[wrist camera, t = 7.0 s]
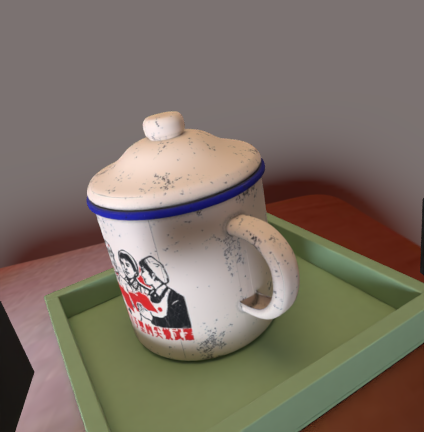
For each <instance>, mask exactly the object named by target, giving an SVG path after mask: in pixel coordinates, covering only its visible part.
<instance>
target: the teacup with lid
mask: <svg viewBox="0 0 424 432" xmlns="http://www.w3.org/2000/svg"><path fill="white" fill-rule="evenodd" d="M184 128H185V124H184V119H183V116H182V115H181V114H180V113H178V112H175V111H172V112H164V113H159V114H155V115H152V116H149V117H147V118H146V119H145V120H144V122H143V130H144V133H145V135H146V138H144V139H141V140H140V141H138V142H136V143H134V144H133V145H132V146H130V147H129V148H128V149H127V150H126V151H125V153H124V154H123V155H122V156H121V157H120V158H119V159H118V161H116V162H114V163H112V164H110V165H108V166H107V167H105V168H104V169H102V170H101V171H99V172H98V173H97V174H96V175H95V176H94V177H93V178H92V180H91V181H90V183H89V186H88V189H87V204H88V207H89V209H90V210H91V211H92V212H94V213H95V214H96V216H97V219H98V222H99V225H100V228H101V231H102V234H103V237H104V240H105V243H106V246H107V249H108V252H109V255H110V259H111V262H112V265H113V268H114V271H115V274H116V277H117V280H118V283H119V286H120V289H121V292H122V295H123V298H124V301H125V304H126V307H127V310H128V314H129V317H130V320H131V323H132V326H133V329H134V332H135V334H136V336H137V338H138V339H139V341H140V342H141V343H142V344H143V345H144V346H145V347H146V348H147V349H149V350H150V351H152V352H153V353H155V354H158V355H160V356H163V357H166V358H170V359H174V360H183V361H197V360H206V359H212V358H216V357H220V356H223V355H226V354H229V353H232V352H234V351H236V350H238V349H241V348H242V347H244V346H246V345H248V344H249V343H251V342H252V341H254V340H255V339H256V338H257V337H259V336H260V335H261V334H262V333H263V332H264V331H265V330H266V328H267V327H268V326H269V325H270V323H271V322H272V320H273V319H274V318H276V317H279V316H280V315H282V314H283V313H284V312H286V311H287V310H288V309H289V308H290V307H291V306H292V305H293V303H294V302H295V300H296V298H297V295H298V291H299V284H300V276H299V268H298V263H297V260H296V257H295V254H294V252H293V250H292V248H291V247H290V245H289V244H288V242H287V241H286V240H285V238H284V237H283V236H282V235H281V234H280V233H279V232H278V231H277V230H276V229H275V228H274V227H273V226H271V225H270V224H268V221H267V214H266V207H265V200H264V192H263V185H262V178H261V177H262V175H263V173H264V171H265V165H264V161H263V159H262V158H261V156H260V153H259V152H258V151H257V149H256V148H255V147H253V146H252V145H251V144H249V143H246V142H243V141H239V140H234V139H221V138H218V137H216V136H214V135H211V134H209V133H207V132H204V131H201V130H194V129H184Z"/></svg>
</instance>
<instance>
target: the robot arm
mask: <svg viewBox="0 0 424 432" xmlns="http://www.w3.org/2000/svg"><path fill="white" fill-rule="evenodd" d="M421 239H422V240H421V265H420V273H422V274H423V275H424V198H423V209H422V237H421ZM33 375H34V370H33V368H32V366H31V364H30V362H29V359H28V357H27V355H26V353H25V351H24V349H23V347H22V345H21V343H20V341H19V338H18V336H17V334H16V332H15V330H14V328H13V326H12V324H11V322H10V320H9V317H8V315H7V313H6V311H5V309H4V307H3V305H2V303H1V301H0V432H15V430H16V427H17V424H18V421H19V418H20V415H21V412H22V409H23V406H24V403H25V400H26V397H27V393H28V390H29V387H30V384H31V381H32V378H33Z"/></svg>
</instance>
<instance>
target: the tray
mask: <svg viewBox="0 0 424 432" xmlns="http://www.w3.org/2000/svg"><path fill="white" fill-rule="evenodd" d="M266 214H267V221H268V224H270V225H271V226H273V227H274V228H275V229H276V230H277V231H278V232H279V233H280V234H281V235H282V236H283V237H284V238H285V240H286V241H287V242H288V244H289V245H290V247H291V248H292V250H293V252H294V254H295V257H296V260H297V263H298V268H299V276H300V284H299V291H298V295H297V298H296V300H295V302H294V303H293V305H292V306H291V307H290V308H289V309H288V310H287V311H286V312H284V313H283V314H282V315H280V316H279V317H276V318H274V319H273V320H272V322H271V323H270V325H269V326H268V327H267V328H266V330H265V331H264V332H263V333H262V334H261V335H260V336H259V337H257V338H256V339H255V340H254V341H252V342H251V343H249V344H248V345H246V346H244V347H242V348H241V349H238V350H236V351H234V352H232V353H229V354H226V355H223V356H220V357H216V358H212V359H206V360H197V361H183V360H174V359H170V358H166V357H163V356H160V355H158V354H155V353H153V352H152V351H150V350H149V349H147V348H146V347H145V346H144V345H143V344H142V343H141V342H140V341H139V339H138V338H137V336H136V334H135V332H134V329H133V326H132V323H131V320H130V317H129V314H128V310H127V307H126V304H125V301H124V298H123V295H122V292H121V289H120V286H119V283H118V280H117V277H116V274H115V271H114V268H111V269H109V270H106V271H104V272H101V273H99V274H97V275H94V276H92V277H89V278H87V279H85V280H82V281H80V282H77V283H75V284H72V285H70V286H68V287H65V288H63V289H60V290H58V291H55V292H53V293H51V294H48V295H46V296H44V299H45V302H46V305H47V309H48V312H49V315H50V318H51V321H52V325H53V328H54V331H55V334H56V337H57V340H58V344H59V347H60V350H61V353H62V356H63V360H64V363H65V366H66V369H67V372H68V376H69V379H70V382H71V385H72V388H73V391H74V395H75V398H76V401H77V404H78V407H79V411H80V414H81V417H82V420H83V423H84V426H85V430H86V432H299V431H300V430H302V429H303V428H304V427H306V426H307V425H309V424H310V423H311V422H313V421H314V420H316V419H317V418H318V417H320V416H321V415H323V414H324V413H325V412H327V411H328V410H330V409H331V408H333V407H334V406H335V405H337V404H338V403H340V402H341V401H342V400H344V399H345V398H347V397H348V396H349V395H351V394H352V393H354V392H355V391H356V390H358V389H359V388H361V387H362V386H363V385H365V384H366V383H368V382H369V381H371V380H372V379H373V378H375V377H376V376H378V375H379V374H380V373H382V372H383V371H385V370H386V369H387V368H389V367H390V366H392V365H393V364H394V363H396V362H397V361H399V360H400V359H401V358H403V357H404V356H406V355H407V354H409V353H410V352H411V351H413V350H414V349H416V348H417V347H418V346H420V345H421V344H423V343H424V283H422V282H420V281H418V280H415V279H413V278H411V277H409V276H407V275H404V274H402V273H400V272H398V271H395V270H393V269H391V268H389V267H386V266H384V265H382V264H380V263H378V262H375V261H373V260H371V259H369V258H366V257H364V256H362V255H360V254H358V253H355V252H353V251H351V250H349V249H346V248H344V247H342V246H340V245H338V244H335V243H333V242H331V241H329V240H326V239H324V238H322V237H320V236H317V235H315V234H313V233H311V232H309V231H306V230H304V229H302V228H300V227H297V226H295V225H293V224H291V223H289V222H286V221H284V220H282V219H280V218H277V217H275V216H273V215H271V214H269V213H266Z"/></svg>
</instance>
